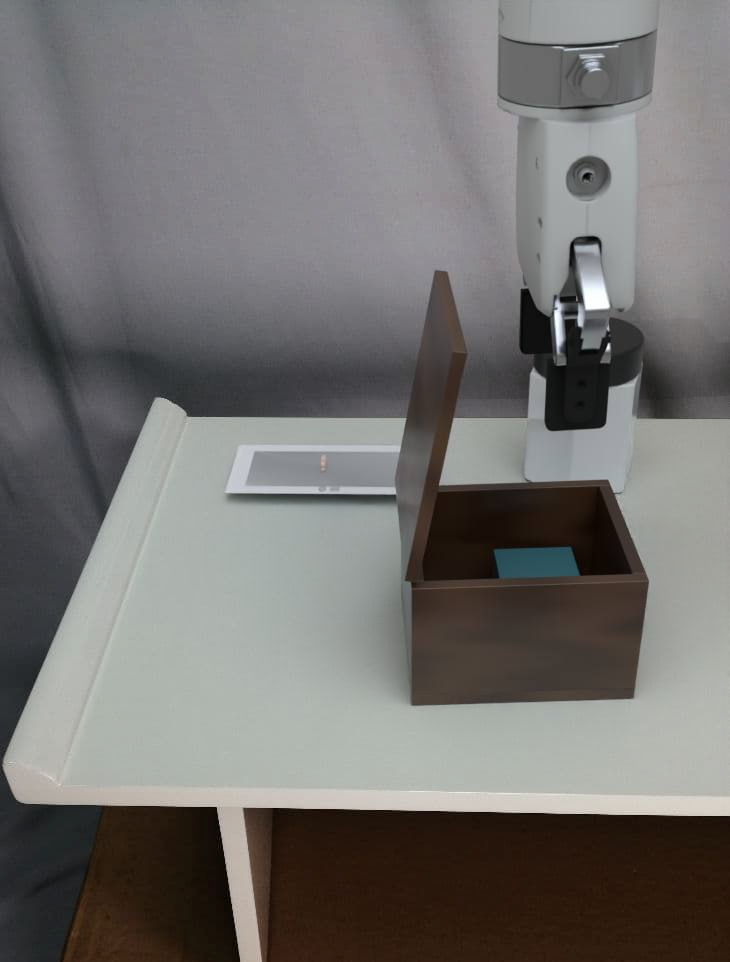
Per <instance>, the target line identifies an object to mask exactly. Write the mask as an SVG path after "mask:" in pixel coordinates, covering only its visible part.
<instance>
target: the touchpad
mask: <svg viewBox="0 0 730 962" xmlns="http://www.w3.org/2000/svg"><path fill="white" fill-rule="evenodd" d="M400 449H401V445H372V444H371V445H364V444H363V445H362V444H361V445H359V444H357V445H355V444H353V445H352V444H351V445H346V444H345V445H339V444H338V445H336V444H334V445H333V444H331V445H330V444H329V445H325V444H318V445H316V444H313V445H312V444H239V445H238V448H237V451H236V454H235V458H234V461H233V464H232V467H231V470H230V474H229V477H228V480H227V483H226V487H225V490H224V494H264V495H265V494H266V495H267V494H270V495H271V494H274V495H275V494H276V495H277V494H278V495H280V494H281V495H282V494H284V495H285V494H286V495H287V494H288V495H290V494H291V495H292V494H293V495H295V494H296V495H396V488H395V475H396V469H397V464H398V459H399V454H400Z"/></svg>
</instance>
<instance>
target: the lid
mask: <svg viewBox="0 0 730 962" xmlns="http://www.w3.org/2000/svg"><path fill="white" fill-rule="evenodd" d="M456 304H457V303H456V300H455V296H454V292H453V289H452V283H451V279H450V276H449V271H446V270H438V269H435V270H434V272H433V278H432V282H431V288H430V293H429V298H428V304H427V307H426V308H427V309H426V314H425V319H424V323H423V324H424V325H423V329H422V335H421V340H420V345H419V350H418V356H417V361H416V366H415V371H414V375H413V380H412V381H413V382H412V387H411V392H410V397H409V402H408V407H407V412H406V418H405V424H404V428H403V433H402V439H401V442H400V443H401V444H400V446H401V449H400V454H399V459H398V464H397V469H396V475H395V488H396V494H395V496H396V497H395V498H396V507H397V518H398V527H399V528H398V529H399V538H400V550H401V549H402V559H403V569H404V579H405V581H407V582H416V583H417V582H418V580H419V576H420V571H421V566H422V562H423V557H424V553H425V548H426V543H427V539H428V534H429V530H430V525H431V520H432V516H433V511H434V506H435V502H436V497H437V493H438V488H439V485H440V483H441V479H442V475H443V469H444V464H445V460H446V454H447V451H448V446H449V441H450V436H451V432H452V427H453V423H454V418H455V413H456V409H457V405H458V400H459V395H460V392H461V386H462V381H463V377H464V371H465V368H466V363H467V359H468V350H467V346H466V341H465V338H464V333H463V329H462V325H461V319H460V317H459V313H458V308H457V305H456Z"/></svg>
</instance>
